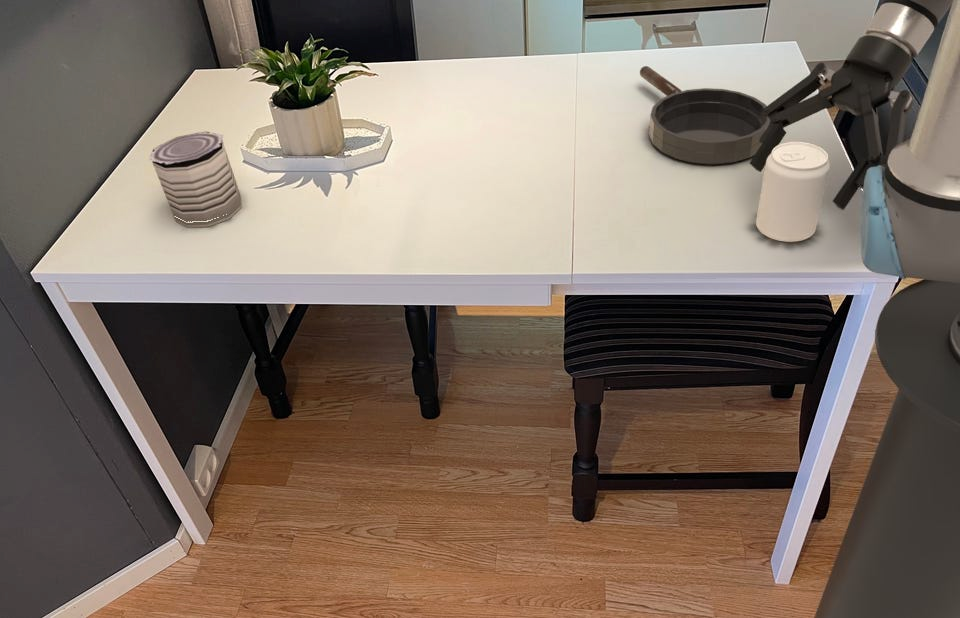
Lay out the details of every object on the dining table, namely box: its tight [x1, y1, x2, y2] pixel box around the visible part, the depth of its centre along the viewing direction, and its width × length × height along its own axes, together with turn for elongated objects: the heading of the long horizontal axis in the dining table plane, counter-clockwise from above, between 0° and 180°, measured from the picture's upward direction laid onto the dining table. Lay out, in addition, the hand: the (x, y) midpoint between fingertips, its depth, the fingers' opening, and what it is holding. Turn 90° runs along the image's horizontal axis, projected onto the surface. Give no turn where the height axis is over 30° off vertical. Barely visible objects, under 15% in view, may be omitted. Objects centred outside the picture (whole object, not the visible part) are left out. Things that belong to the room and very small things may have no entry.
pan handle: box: [639, 65, 682, 97], centre depth 144 cm, size 13×2×2 cm, turn 20°
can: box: [148, 130, 243, 229], centre depth 127 cm, size 11×11×12 cm
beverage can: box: [755, 141, 831, 243], centre depth 109 cm, size 8×8×12 cm
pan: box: [648, 87, 770, 165], centre depth 133 cm, size 19×19×4 cm
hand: (794, 186), depth 109 cm, fingers open, 13 cm apart
